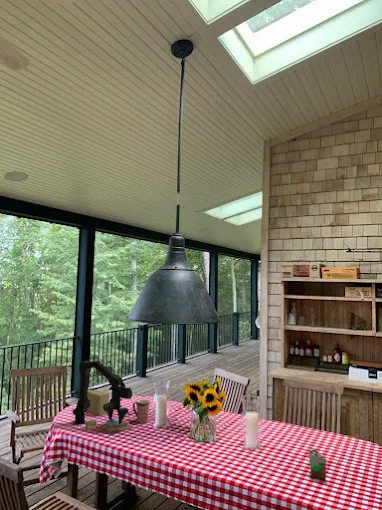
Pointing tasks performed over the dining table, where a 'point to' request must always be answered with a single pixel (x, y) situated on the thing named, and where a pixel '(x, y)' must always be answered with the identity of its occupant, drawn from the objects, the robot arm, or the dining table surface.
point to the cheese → (97, 402)
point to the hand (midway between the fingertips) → (115, 422)
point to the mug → (141, 410)
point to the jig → (114, 428)
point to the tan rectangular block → (90, 424)
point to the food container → (317, 465)
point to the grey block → (114, 422)
